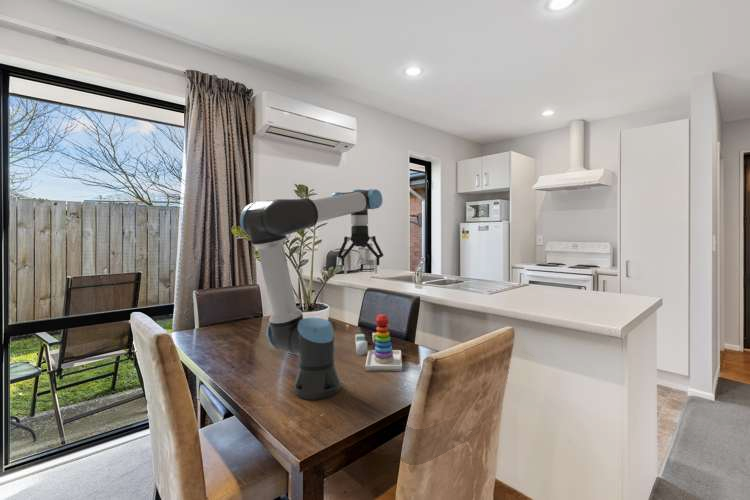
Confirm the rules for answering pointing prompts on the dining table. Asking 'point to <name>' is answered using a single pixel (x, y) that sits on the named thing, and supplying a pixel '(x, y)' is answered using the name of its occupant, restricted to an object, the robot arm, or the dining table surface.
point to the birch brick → (374, 337)
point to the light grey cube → (361, 347)
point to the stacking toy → (383, 341)
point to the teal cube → (359, 337)
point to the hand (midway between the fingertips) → (360, 273)
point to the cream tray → (375, 366)
